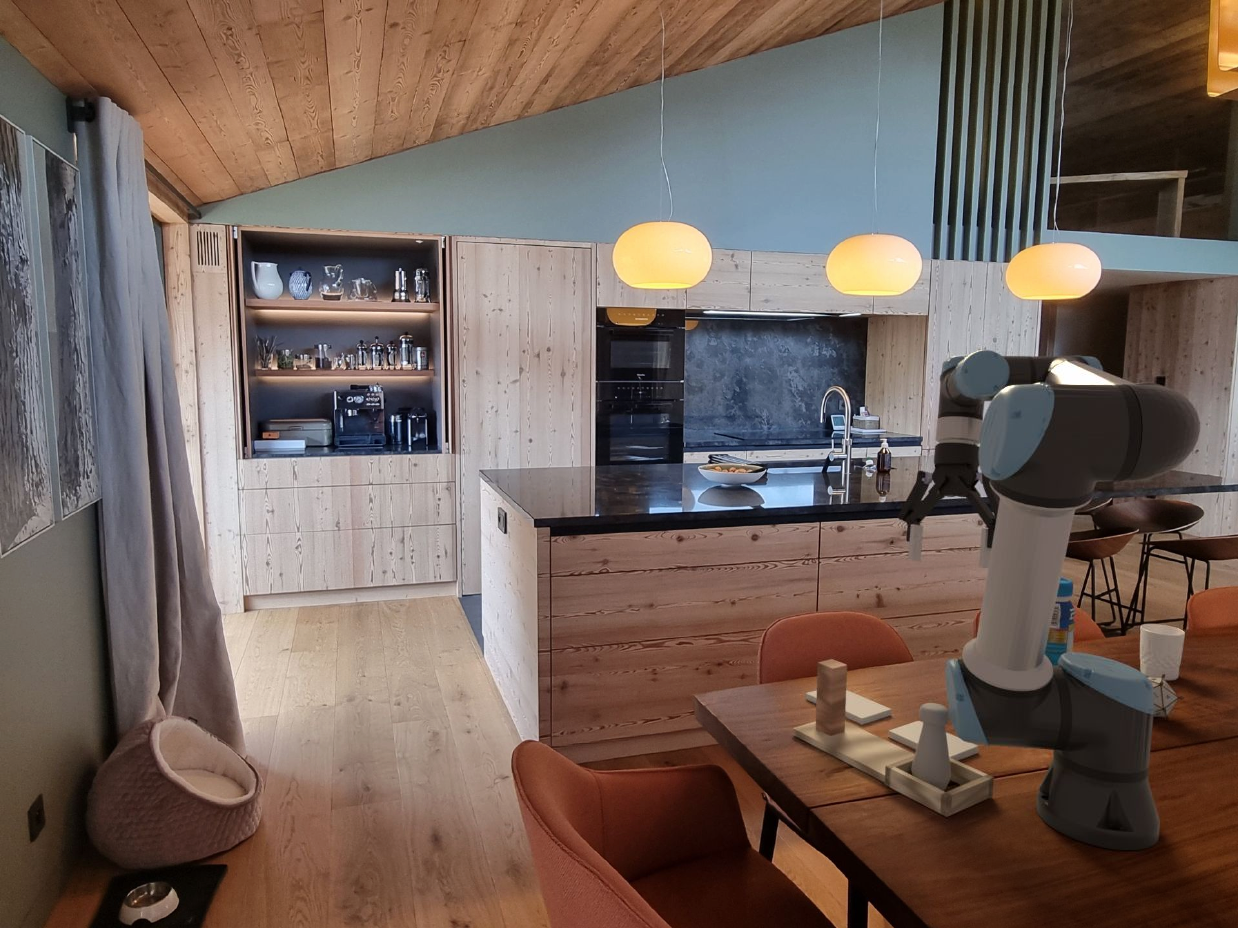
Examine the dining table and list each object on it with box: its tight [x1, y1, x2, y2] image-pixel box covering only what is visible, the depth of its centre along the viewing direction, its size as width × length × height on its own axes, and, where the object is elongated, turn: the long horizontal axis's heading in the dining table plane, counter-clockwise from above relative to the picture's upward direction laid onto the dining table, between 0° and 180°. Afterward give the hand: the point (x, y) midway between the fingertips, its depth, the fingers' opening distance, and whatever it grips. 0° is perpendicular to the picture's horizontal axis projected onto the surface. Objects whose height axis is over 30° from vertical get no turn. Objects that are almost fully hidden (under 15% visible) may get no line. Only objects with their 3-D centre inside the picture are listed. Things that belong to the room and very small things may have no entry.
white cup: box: [1139, 623, 1186, 681], centre depth 174 cm, size 8×8×10 cm
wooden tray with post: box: [792, 658, 995, 818], centre depth 133 cm, size 32×11×13 cm, turn 32°
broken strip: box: [805, 689, 979, 761], centre depth 149 cm, size 32×8×1 cm, turn 32°
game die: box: [1147, 674, 1185, 722], centre depth 153 cm, size 9×8×10 cm
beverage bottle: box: [1045, 576, 1076, 666], centre depth 177 cm, size 8×8×20 cm
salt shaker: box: [911, 702, 952, 792], centre depth 126 cm, size 6×6×13 cm
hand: (948, 564), depth 143 cm, fingers open, 13 cm apart
